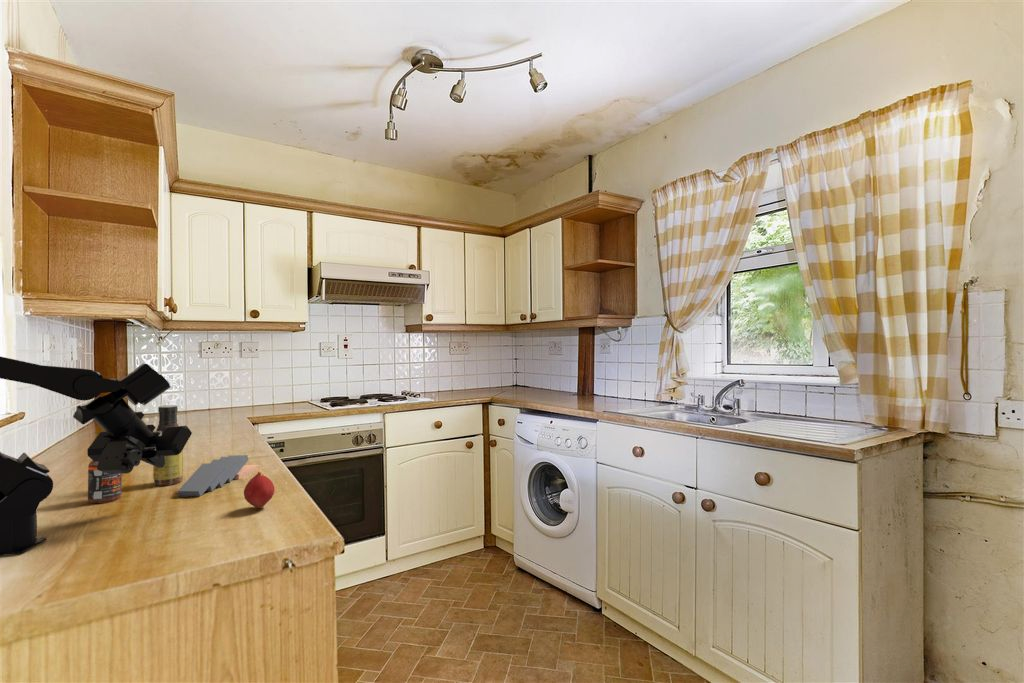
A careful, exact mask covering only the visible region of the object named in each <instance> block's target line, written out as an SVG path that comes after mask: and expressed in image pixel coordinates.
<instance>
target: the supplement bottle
mask: <svg viewBox="0 0 1024 683" xmlns="http://www.w3.org/2000/svg"><path fill="white" fill-rule="evenodd" d="M98 463H99V461H93V460H92V461H90V462H89V464H88V468H87V501H88V503H91V504H103V503H102V502H105V503H110V502H113V500H114V501H116V500H119V499H120V498H121V497H122V489H123V487H122V479H123V478H122V476H123V474H109V473H105V472H102V471H99V470H98V469H97V466H98ZM109 501H110V502H109Z"/></svg>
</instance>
